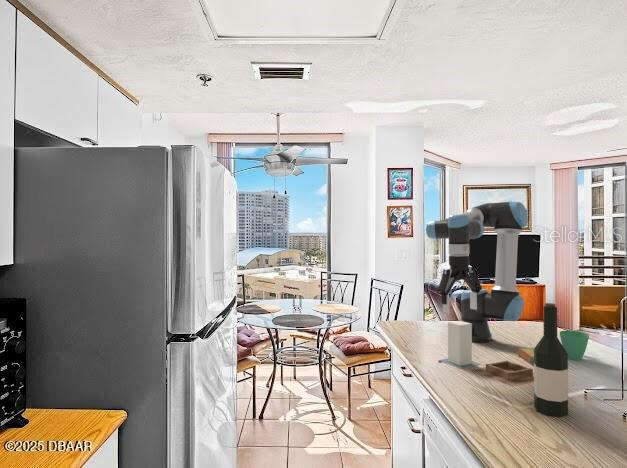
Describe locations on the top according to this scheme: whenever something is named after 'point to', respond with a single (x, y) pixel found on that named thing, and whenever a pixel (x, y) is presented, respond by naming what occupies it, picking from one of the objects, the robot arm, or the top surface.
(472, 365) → the slate mat
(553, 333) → the wine bottle
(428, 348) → the top surface
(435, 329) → the top surface
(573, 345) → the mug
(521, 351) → the carton
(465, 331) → the cream block
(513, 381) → the pocket tray
